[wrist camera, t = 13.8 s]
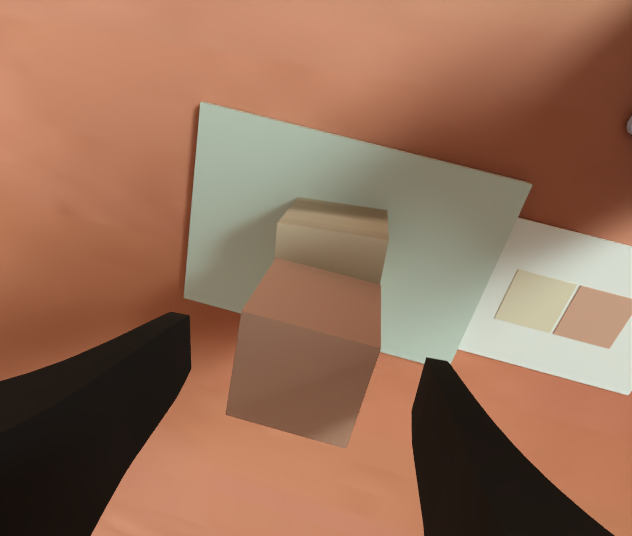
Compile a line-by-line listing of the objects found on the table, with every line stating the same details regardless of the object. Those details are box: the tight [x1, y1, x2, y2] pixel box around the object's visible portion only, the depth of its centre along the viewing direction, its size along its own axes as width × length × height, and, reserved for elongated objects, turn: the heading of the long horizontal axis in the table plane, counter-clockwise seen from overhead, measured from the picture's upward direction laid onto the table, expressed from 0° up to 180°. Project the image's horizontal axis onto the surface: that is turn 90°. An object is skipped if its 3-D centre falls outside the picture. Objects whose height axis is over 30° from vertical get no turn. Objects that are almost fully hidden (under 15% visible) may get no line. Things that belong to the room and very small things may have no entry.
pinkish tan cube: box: [226, 258, 381, 449], centre depth 15 cm, size 4×4×4 cm
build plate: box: [184, 102, 533, 364], centre depth 21 cm, size 11×16×1 cm
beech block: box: [274, 197, 389, 285], centre depth 19 cm, size 4×4×4 cm
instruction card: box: [458, 217, 632, 395], centre depth 21 cm, size 8×11×1 cm
